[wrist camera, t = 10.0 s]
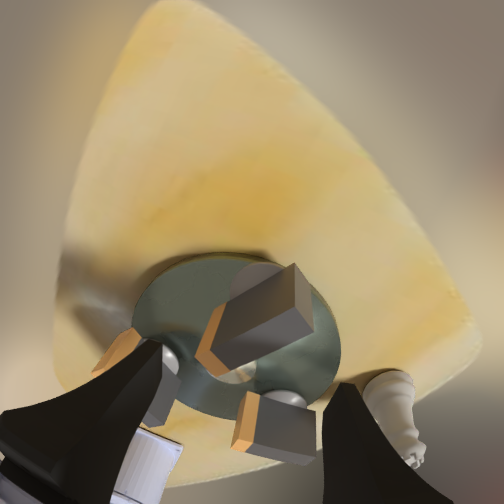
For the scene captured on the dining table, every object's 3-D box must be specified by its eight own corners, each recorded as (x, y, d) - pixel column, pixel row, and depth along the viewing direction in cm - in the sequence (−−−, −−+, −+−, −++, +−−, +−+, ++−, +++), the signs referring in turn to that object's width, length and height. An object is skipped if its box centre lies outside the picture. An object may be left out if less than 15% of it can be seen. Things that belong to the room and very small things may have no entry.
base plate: (283, 427, 24) (282, 447, 22) (128, 369, 24) (117, 387, 22) (379, 304, 19) (388, 326, 16) (161, 215, 18) (144, 228, 16)
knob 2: (282, 243, 16) (278, 285, 12) (320, 296, 17) (327, 349, 13) (203, 292, 18) (178, 340, 14) (242, 337, 19) (229, 390, 15)
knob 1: (194, 375, 21) (176, 423, 17) (158, 386, 22) (138, 429, 18) (145, 319, 20) (114, 363, 15) (112, 336, 21) (82, 376, 17)
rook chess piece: (350, 391, 22) (360, 474, 15) (392, 359, 20) (418, 443, 13) (382, 408, 22) (396, 483, 15) (421, 380, 21) (447, 455, 13)
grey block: (323, 399, 21) (325, 450, 16) (299, 425, 22) (297, 472, 18) (253, 378, 21) (244, 430, 16) (235, 407, 22) (225, 454, 18)
